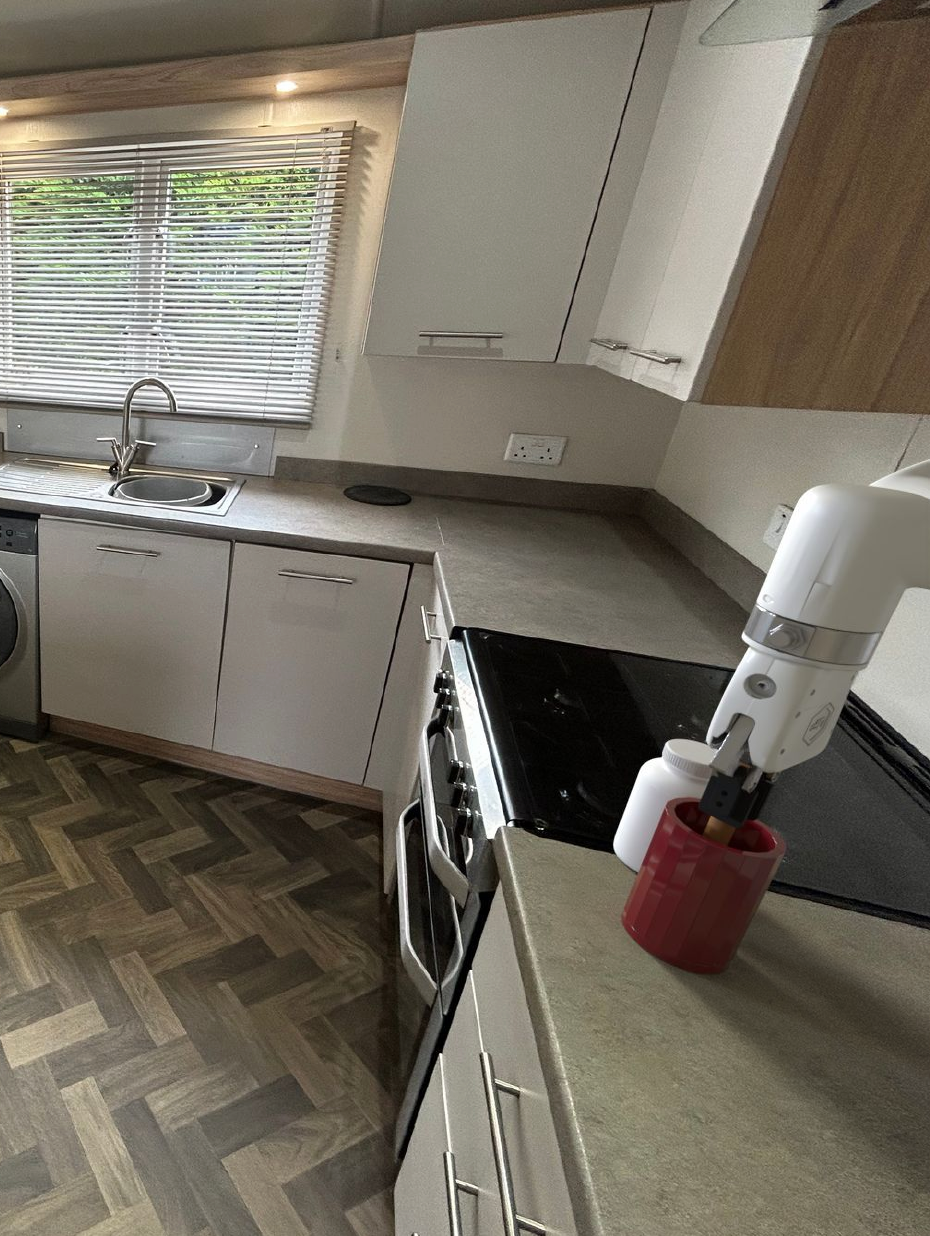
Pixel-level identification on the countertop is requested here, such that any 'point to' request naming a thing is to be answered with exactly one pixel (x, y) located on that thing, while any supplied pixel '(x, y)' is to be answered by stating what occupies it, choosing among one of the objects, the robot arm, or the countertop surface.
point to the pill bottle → (661, 794)
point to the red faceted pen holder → (699, 888)
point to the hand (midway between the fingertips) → (727, 813)
